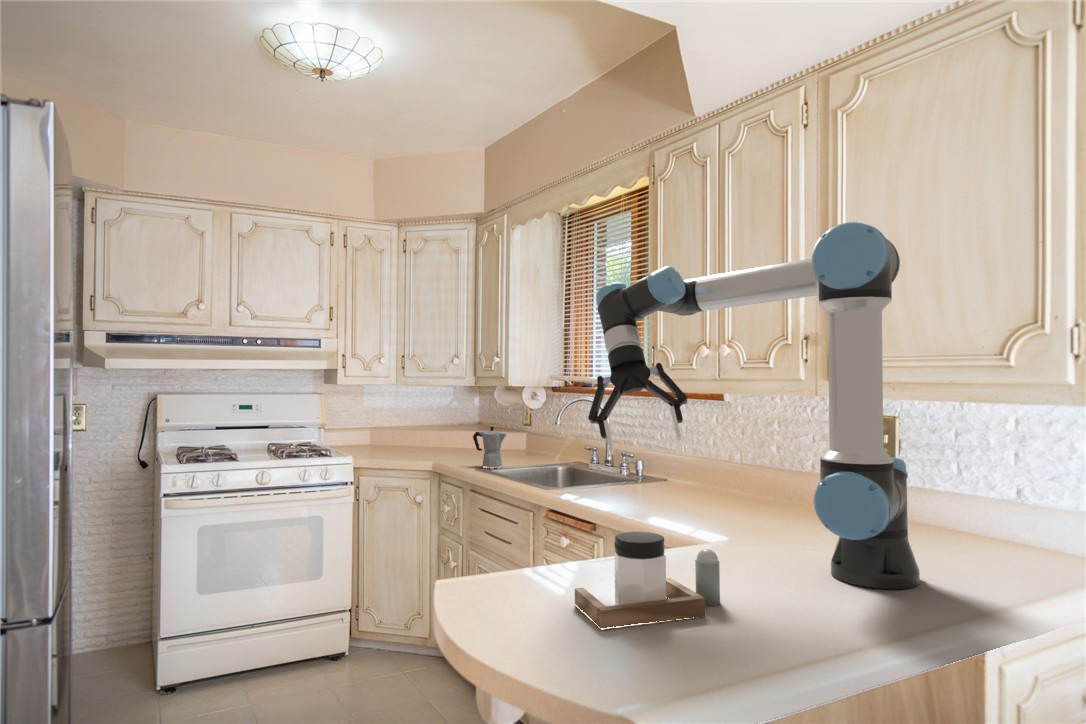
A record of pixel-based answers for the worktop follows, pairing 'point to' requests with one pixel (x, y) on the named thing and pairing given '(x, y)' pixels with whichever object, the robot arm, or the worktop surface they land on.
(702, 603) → the dock
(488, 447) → the coffeepot
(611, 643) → the worktop surface
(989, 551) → the worktop surface
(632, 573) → the jar
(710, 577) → the shaker
